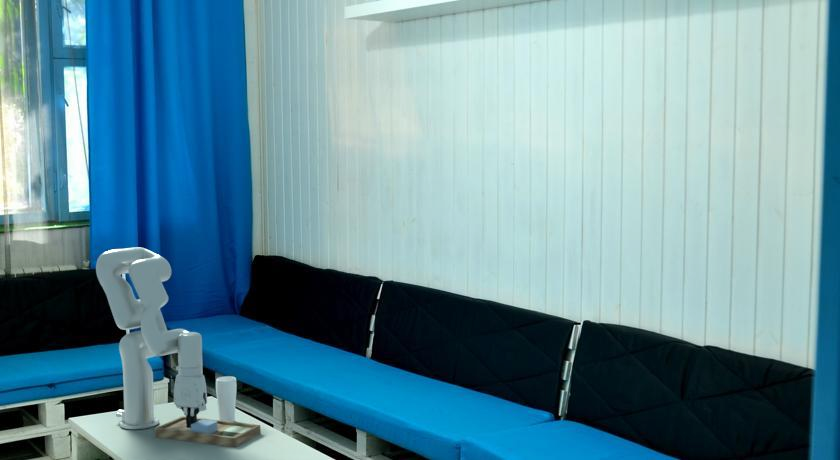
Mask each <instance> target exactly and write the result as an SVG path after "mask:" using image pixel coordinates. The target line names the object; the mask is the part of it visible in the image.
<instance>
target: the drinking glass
mask: <svg viewBox="0 0 840 460" xmlns="http://www.w3.org/2000/svg"><path fill="white" fill-rule="evenodd" d="M215 391H216V393H215V394H216V400H217V401H216V404H217V410H218V420H221V421H230V422H236V403H237V378H236V377H235V376H230V375H229V376H228V375H226V376H219V377H217V378H216V381H215Z"/></svg>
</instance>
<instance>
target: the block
mask: <svg viewBox="0 0 840 460" xmlns="http://www.w3.org/2000/svg"><path fill="white" fill-rule="evenodd" d="M215 431H218V423H217V421H210V420H199V421H197V422H195V423H193V424H191V432H198V433H206V434H211V433H213V432H215Z"/></svg>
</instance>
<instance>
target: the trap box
mask: <svg viewBox="0 0 840 460" xmlns="http://www.w3.org/2000/svg"><path fill="white" fill-rule="evenodd" d="M199 420H210V421H217V423H218V431H215V432H213V433H211V434H206V433H198V432H191V428H187V424H186V416H185V415H182V416H180V417H178V418H175V419H173V420H170V421H169V422H166V423H164V424H162V425H160V426H157V427H155V428H154V434H155V436H154V437H155V438H160V439H161V438H162V439H170V440H177V441H178V440H179V441H186V442H193V443H203V444H208V445H210V444H211V445H215V446H216V445H218V446H223V447H224V446H225V447H233V448H237V447H238V446H241V445H242V444H244V443H246V442H248V441H249V440H251V439H253V438H255V437H257V436H259V435H261V425H260V424H255V423H247V422H237V421H234V422H230V421H221V420H219V419H210V418H203V417H197V421H199Z"/></svg>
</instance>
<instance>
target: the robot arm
mask: <svg viewBox="0 0 840 460" xmlns="http://www.w3.org/2000/svg"><path fill="white" fill-rule="evenodd" d="M95 273H96V277H97V280H98V282H99V284H100V286H101V288H102V289H103V291H104V293H105V296H106V298H107V301H108V305H109V307H110V310H111V313H112V316H113V317H112V318H113V319H114V322H115V324H116V326H117V327H118V328H119V329H120V330H124V331H127V330H134V329H138V328H139V329H140V330H138V331H132V332H129V333H127V334H125V335H124V336H123V337H122V338H121V339H120V341H119V345H118V348H119V349H118V350H119V354H120V358H121V363H122V380H123V382H122V383H123V409H118V410H117V413H116V414H115V416H116V417H117V418H121V421H120V422H119V427H121V428H122V429H126V430H143V429H144V430H145V429H149V428H153V427H156V426H157V425H158V424H159V423H160V420H159V418H158V417H157V416H155V405H154V399H155V398H154V373H153V369H152V366H151V364H150V363H149V362H148V359H149V358H153V357H163V356H166V355H173V354H177V364H178V365H176V367H175V370H176V371H177V372H178V373H177V374H176V376H175V381H174V386H173V405H175V407H176V408H177V409H179V410H182V412H183V414H184V415H183V416H186V424H187V428H191V424H193V423H195V422H197V418H198V415H199V413H200V412H203V411H206V410H207V404H208V390H207V389H208V388H207V383H206V377H205V374H203V337H202V335H201V333H199V332H196V331H189V330H187V329H185V328H176V329H175V328H174V329H170V330H168V328H167V325H166V323H165V320H164V317H163V313H162V311H161V308H162V307H164V306H165V305H166V304H167V303H168V302H169V295H168V294H167V291H166V289H165V287H164V285H163V282H166V281H168V280H169V279H170V278H171V276H172V268H171V265H170V262H169V261H168V260H167V259H166V258H164V257H163V256H161V255H160V254H157V253H155V252H153V251H151V250H149V249H147V248H144V247H138V246H136V247H135V246H134V247H127V248H115V249H110V250H108V251H104V252H103V253H101V254H100V255H99V256H98V258H97V260H96V264H95ZM122 274H123V275H124V274H128V275H129V279H130V280H131V283H132V284H133V287H134V289H135V292H136V294H137V296H138V298H139V299H137V298H136V296H135V294H134V291H133V288H132V286H131V285H130V284H129V282H128V281H127V280H126V279H125V278H123V277H122Z"/></svg>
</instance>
